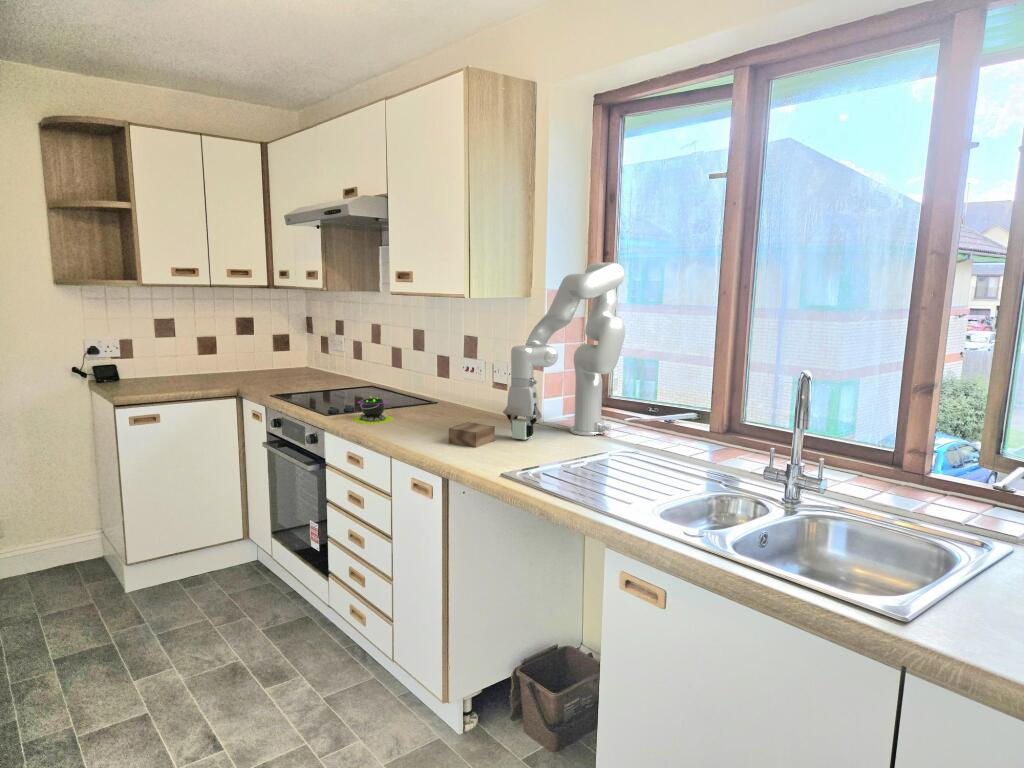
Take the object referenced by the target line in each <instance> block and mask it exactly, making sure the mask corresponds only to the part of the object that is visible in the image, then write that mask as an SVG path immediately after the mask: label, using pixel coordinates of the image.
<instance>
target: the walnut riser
mask: <svg viewBox="0 0 1024 768" xmlns="http://www.w3.org/2000/svg"><path fill="white" fill-rule="evenodd" d="M495 428H496V427H495V425H491V424H490V425H489V424H481V423H475V422H469V421H468V422H467V421H466V422H465V423H462V424H458V425H454V426H452V427H448V443H449V444H453V445H460V446H466V447H470V448H479V447H481V446H483V445H487V444H489V443H492V442H495V437H496V435H495V433H496V431H495Z"/></svg>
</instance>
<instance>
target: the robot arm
mask: <svg viewBox="0 0 1024 768" xmlns="http://www.w3.org/2000/svg"><path fill="white" fill-rule="evenodd" d="M625 274H626V273H625V270H624V268H623V266H622V265H620V264H619V263H617V262H593V263H590V264H588V266H587V267H586V268H585V271H584V273H570V274H567V275H566V276H564V278H563V279H562V281H561V282H560V285H559V287H558V289H557V292H556V293H555V295H554V299H553V301H552V302H551V305H550V306H549V309H548V310H547V312H546V314H544V316H542V318H541V319H540V320H539V321H538V323H537V324H536V325H535V326H534V327H533V329H532V330H531V332H530V333H529V336H528V338H527V340H526V343H525V345H514V346H513V347H511V350H510V376H511V377H510V380H511V381H510V385H509V388H508V394H507V401H506V402H507V404H506V405H507V406H506V407H505V408H504V410H503V411H502V413H503V414H504V415H505V416H506V417H507V420H509V423H510V424H512V421H513V420H515V419H518V418H519V417H523V418H524V417H525V419H527V423H528V425H527V426H526V436H527V437H530V436H532V437H533V436H534V435H533V434H534V425H535V424H536V422H537V421H538V420H540V419H541V418H542V417H543V415H542V413H541V412H540V409H539V397H538V391H537V387H536V386H535V385H537V380H535V379H534V378H535V377H534V367H536V368H541V367H542V368H550V367H552V366H554V365H555V364H556V363H557V361H558V359H559V355H558V354H559V353H558V350H557V349H556V348H555V347H554V346H552V345H549V344H547V343H548V342H549V340H550V338H551V337H552V336H553V335H555V333H557V332H558V331H559V330H562V329H563V328H565V327H566V326H568V325H569V324H570V323H571V322H572V320H573V318H574V315H575V313H576V311H577V309H578V307H579V304H580V302H581V300H591V299H592V304H591V307H590V310H589V314H588V318H587V321H586V325H585V330H584V333H585V335H586V337H587V338H588V339H590V340H591V341H594V342H597V344H593V343H584V344H581V345H580V346H578V347H577V348H576V350H575V351H574V354H573V366H574V367H573V368H574V373H575V374H574V375H575V388H574V389H575V391H574V423H573V424H574V425H573V426H571V427H570V428H569V432H570V433H571V434H573V435H574V434H575V435H576V436H577V435H578V436H587V437H588V436H592V437H593V436H594V435H595V436H597V435H596V434H601V433H604V432H605V433H606V431H608V432H611V430H612V425H611V424H609V423H604V421H605V420H604V419H602V406H603V405H602V404H603V378H602V375H608V374H610V373H612V372H613V371H614V370H615V369H616V367H617V365H618V362H619V358H620V355H621V351H622V348H623V345H624V341H625V337H626V325H625V323H624V321H623V320H622V319H621V318H620V317H618V316H616V315H615V313H616V309H617V305H618V295H617V291H616V290H615V289H617V288H619V286H621V284H622V283H623V282H624V279H625ZM605 433H604V434H605ZM601 435H602V434H601ZM530 438H531V437H530Z"/></svg>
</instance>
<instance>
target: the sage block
mask: <svg viewBox="0 0 1024 768" xmlns="http://www.w3.org/2000/svg"><path fill="white" fill-rule="evenodd" d="M527 425H528V423H527V419H526V417H525V418H524V417H518V419H515V420H513V421H512V423H511V435H512V436H511V438H512V439H517V440H518V439H519V440H524V441H525V440H527V439H530V438H532V437H533V435H532V436H530V437H527V436H526V426H527Z"/></svg>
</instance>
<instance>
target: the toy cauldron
mask: <svg viewBox="0 0 1024 768" xmlns="http://www.w3.org/2000/svg"><path fill="white" fill-rule="evenodd" d="M366 395H368V394H365V396H366ZM358 403H359V404H360V405H359V407H360V408H361V411H362V413H363V414H360V415H359V416H357V417H354V418H353V420H352V421H353V422H355V423H358V424H364V425H366V424H367V425H368V424H369V425H370V424H371V425H374V424H377V425H378V424H383V423H389V422H392V421H394V420H393V419H394V417H392V416H389V415H384V414H383V413H384V411H385V404H386V403H389V401H388V400H384V399H382V398H379V397H373V396H369V397H368V396H367V398H366V399H365V398H364V399H362V401H361V400H358Z"/></svg>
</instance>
